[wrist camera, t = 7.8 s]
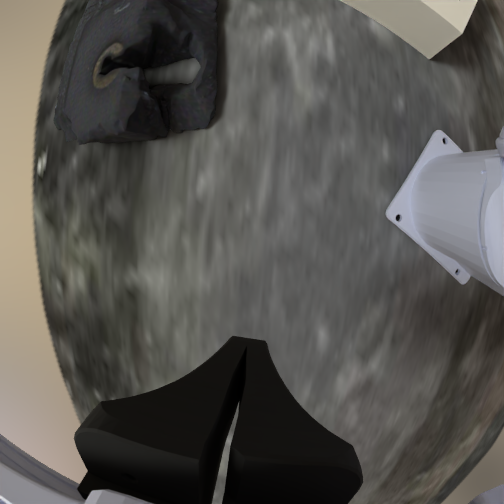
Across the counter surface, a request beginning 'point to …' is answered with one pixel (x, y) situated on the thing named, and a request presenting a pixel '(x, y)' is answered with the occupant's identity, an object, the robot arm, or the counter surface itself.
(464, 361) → the counter surface
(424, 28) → the button console
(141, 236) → the counter surface
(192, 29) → the black fabric pouch
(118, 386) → the counter surface
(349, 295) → the counter surface
